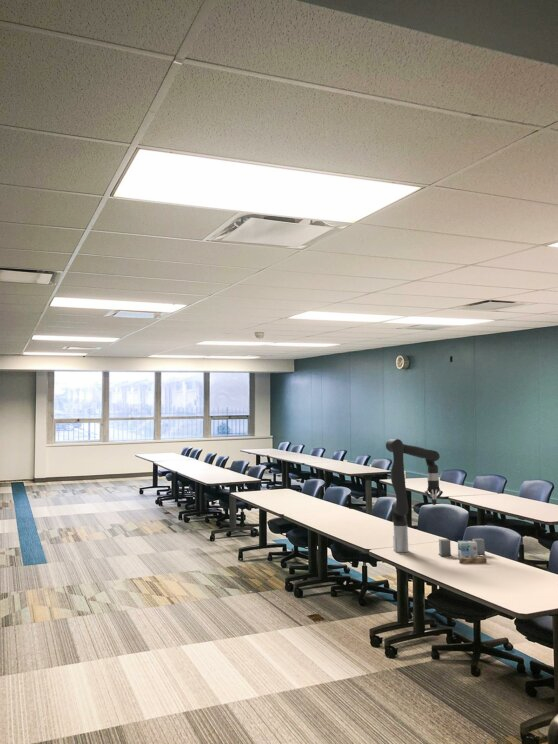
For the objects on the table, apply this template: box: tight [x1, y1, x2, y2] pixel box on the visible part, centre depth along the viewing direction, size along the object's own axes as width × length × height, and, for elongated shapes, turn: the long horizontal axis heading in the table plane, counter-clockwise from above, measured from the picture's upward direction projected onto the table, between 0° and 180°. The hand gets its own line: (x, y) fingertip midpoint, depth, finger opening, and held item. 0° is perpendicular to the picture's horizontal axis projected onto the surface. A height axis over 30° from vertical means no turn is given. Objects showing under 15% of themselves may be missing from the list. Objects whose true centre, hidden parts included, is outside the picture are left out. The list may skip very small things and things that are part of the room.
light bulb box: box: [457, 540, 479, 559], centre depth 383 cm, size 11×7×11 cm, turn 92°
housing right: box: [471, 537, 486, 555], centre depth 393 cm, size 7×6×10 cm
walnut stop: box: [458, 556, 488, 565], centre depth 371 cm, size 16×2×3 cm, turn 91°
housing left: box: [438, 538, 452, 558], centre depth 392 cm, size 7×6×10 cm
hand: (434, 504), depth 420 cm, fingers closed
